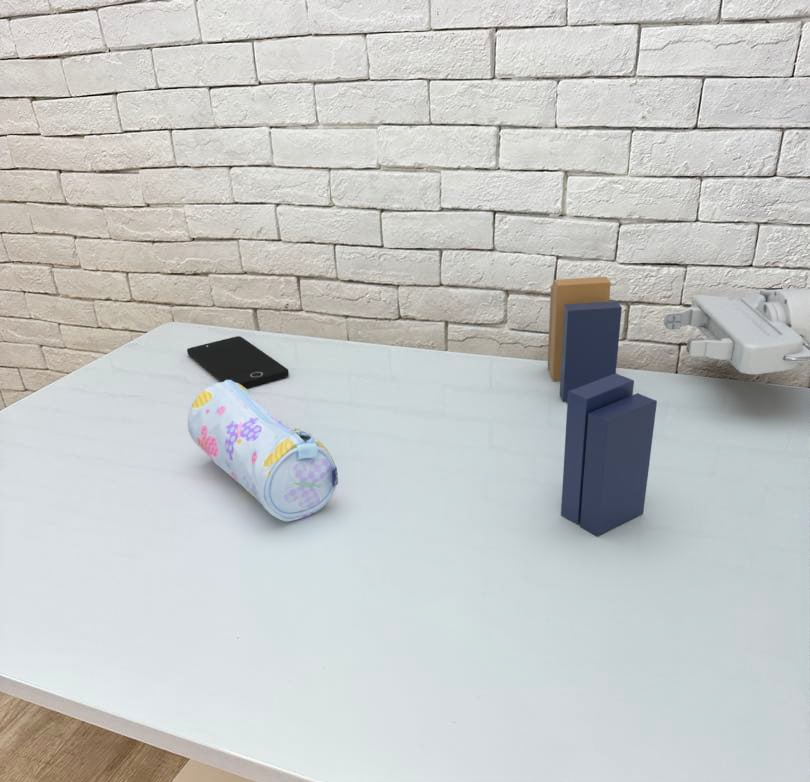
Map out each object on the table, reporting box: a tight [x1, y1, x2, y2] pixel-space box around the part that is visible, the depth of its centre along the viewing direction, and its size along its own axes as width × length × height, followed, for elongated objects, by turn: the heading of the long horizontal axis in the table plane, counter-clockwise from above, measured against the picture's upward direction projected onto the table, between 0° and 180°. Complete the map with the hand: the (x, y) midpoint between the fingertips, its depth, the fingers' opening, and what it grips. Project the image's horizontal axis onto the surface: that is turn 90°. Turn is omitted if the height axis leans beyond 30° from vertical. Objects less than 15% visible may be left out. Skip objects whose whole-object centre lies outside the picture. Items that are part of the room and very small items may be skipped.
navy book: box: [559, 300, 623, 403], centre depth 107 cm, size 6×2×12 cm, turn 92°
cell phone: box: [186, 335, 290, 389], centre depth 125 cm, size 9×18×1 cm, turn 32°
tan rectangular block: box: [546, 276, 612, 380], centre depth 113 cm, size 7×5×13 cm
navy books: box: [560, 372, 658, 537], centre depth 83 cm, size 7×5×14 cm
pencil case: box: [187, 380, 339, 522], centre depth 93 cm, size 21×9×10 cm, turn 35°
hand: (676, 334), depth 106 cm, fingers open, 8 cm apart
